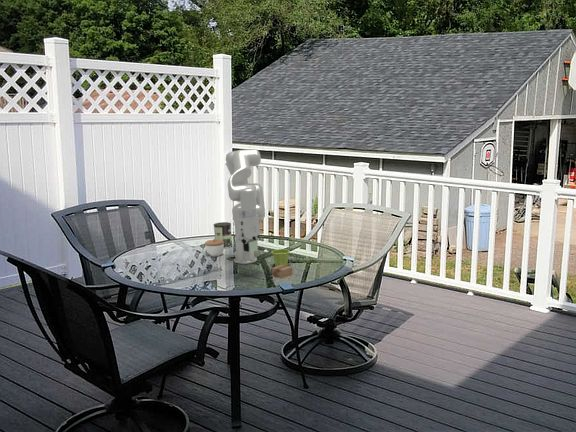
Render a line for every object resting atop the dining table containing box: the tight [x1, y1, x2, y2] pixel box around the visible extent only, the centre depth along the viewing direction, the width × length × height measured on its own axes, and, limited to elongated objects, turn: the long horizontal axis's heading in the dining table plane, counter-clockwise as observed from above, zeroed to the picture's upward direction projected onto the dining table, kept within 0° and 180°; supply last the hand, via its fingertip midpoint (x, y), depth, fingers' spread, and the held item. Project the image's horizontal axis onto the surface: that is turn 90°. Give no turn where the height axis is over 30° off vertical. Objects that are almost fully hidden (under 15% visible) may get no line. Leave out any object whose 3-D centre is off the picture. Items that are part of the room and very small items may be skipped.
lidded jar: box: [204, 238, 224, 257], centre depth 343 cm, size 11×11×9 cm
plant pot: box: [271, 248, 291, 267], centre depth 312 cm, size 9×9×9 cm
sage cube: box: [243, 239, 259, 253], centre depth 294 cm, size 5×5×5 cm
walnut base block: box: [271, 265, 293, 279], centre depth 294 cm, size 7×7×4 cm
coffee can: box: [213, 221, 233, 249], centre depth 361 cm, size 10×10×14 cm
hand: (250, 249), depth 295 cm, fingers closed on sage cube, 5 cm apart
